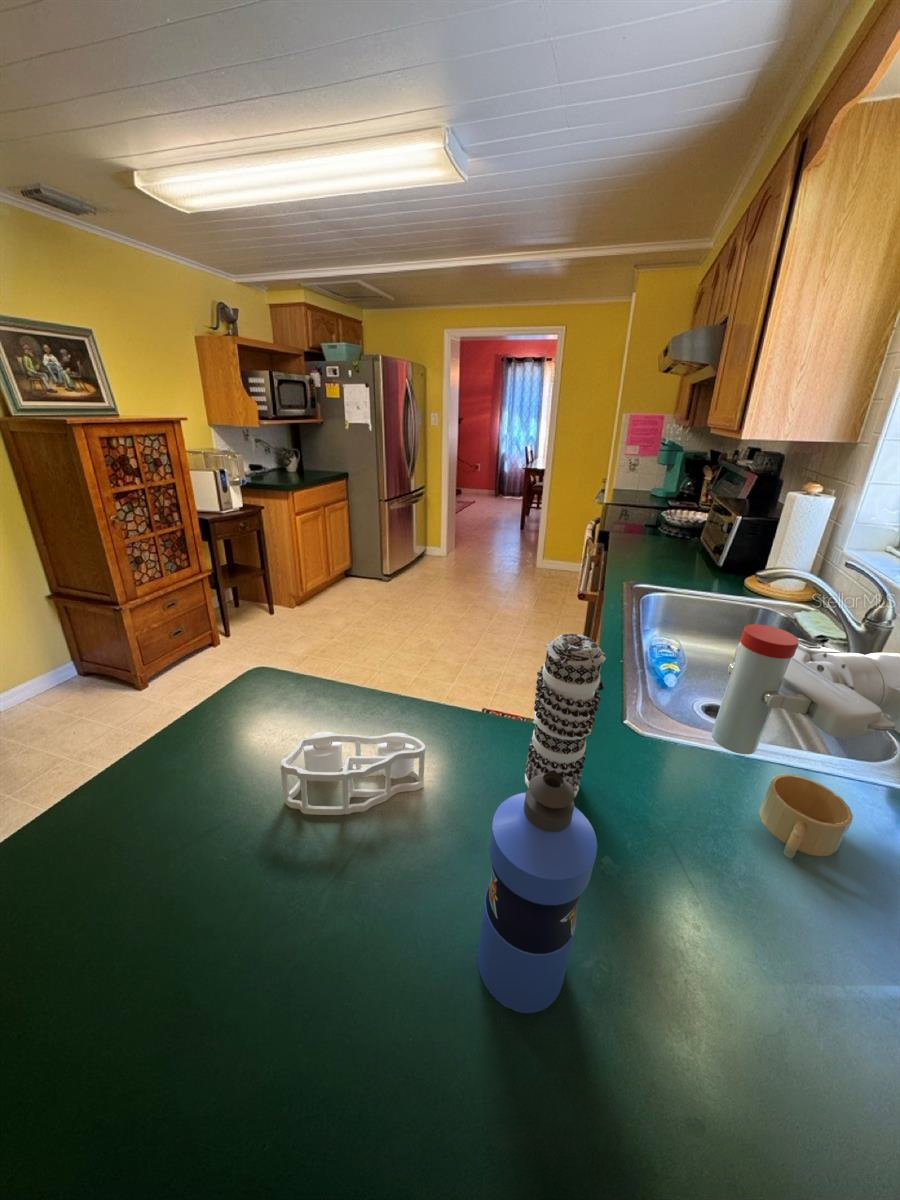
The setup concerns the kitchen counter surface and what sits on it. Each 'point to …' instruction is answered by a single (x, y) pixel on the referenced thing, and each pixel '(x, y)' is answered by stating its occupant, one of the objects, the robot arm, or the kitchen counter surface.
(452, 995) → the kitchen counter surface
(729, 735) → the jar
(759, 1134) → the kitchen counter surface
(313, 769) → the white open frame caddy
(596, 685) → the decorative candle
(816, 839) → the mug
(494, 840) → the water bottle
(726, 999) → the kitchen counter surface
